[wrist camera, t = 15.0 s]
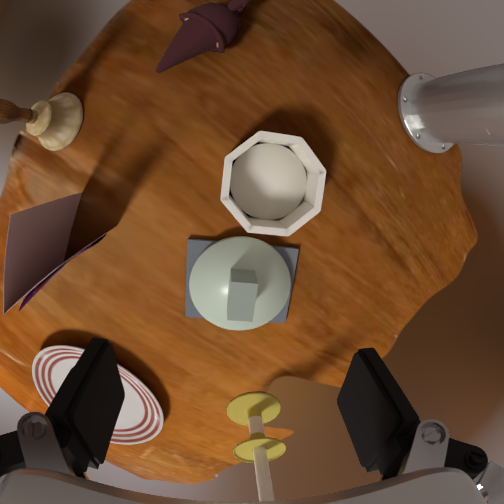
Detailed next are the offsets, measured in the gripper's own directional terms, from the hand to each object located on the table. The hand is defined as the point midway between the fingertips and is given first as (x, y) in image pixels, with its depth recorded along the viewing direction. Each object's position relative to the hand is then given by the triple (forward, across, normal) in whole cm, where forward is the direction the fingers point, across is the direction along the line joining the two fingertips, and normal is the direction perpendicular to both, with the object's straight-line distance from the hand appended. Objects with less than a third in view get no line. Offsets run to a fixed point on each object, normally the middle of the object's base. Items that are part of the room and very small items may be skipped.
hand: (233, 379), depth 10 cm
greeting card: (+26, +21, +2) cm, 34 cm away
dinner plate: (+26, +24, +34) cm, 49 cm away
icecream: (+27, +5, -23) cm, 36 cm away
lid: (+26, -2, +8) cm, 27 cm away
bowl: (+26, -4, -5) cm, 27 cm away
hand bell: (+26, +25, -13) cm, 38 cm away
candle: (+26, -6, +34) cm, 43 cm away
